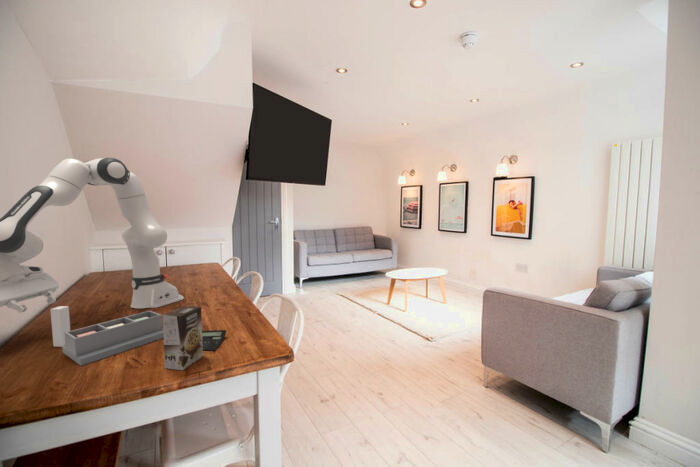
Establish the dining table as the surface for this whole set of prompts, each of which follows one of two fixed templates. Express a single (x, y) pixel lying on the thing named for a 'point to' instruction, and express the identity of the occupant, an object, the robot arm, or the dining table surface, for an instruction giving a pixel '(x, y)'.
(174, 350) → the coffee box
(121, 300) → the dining table surface
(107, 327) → the key cream
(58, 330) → the light grey bar
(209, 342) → the calculator
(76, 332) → the keypad
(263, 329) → the dining table surface
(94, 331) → the key coral
